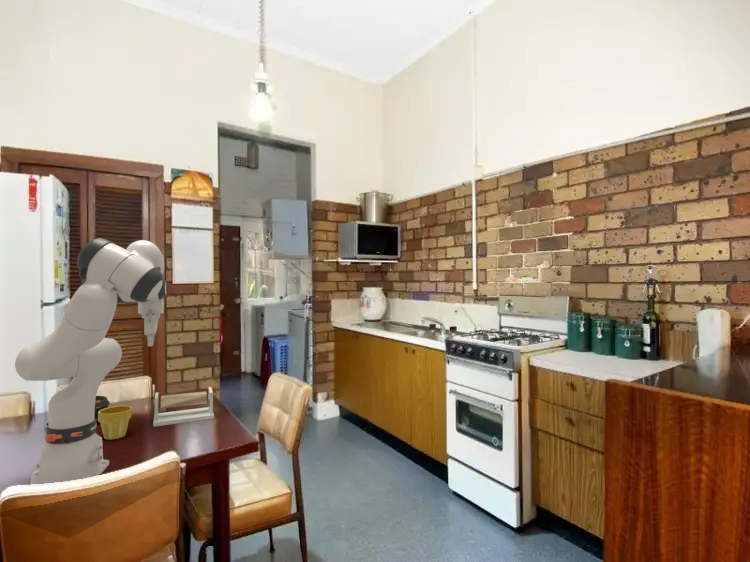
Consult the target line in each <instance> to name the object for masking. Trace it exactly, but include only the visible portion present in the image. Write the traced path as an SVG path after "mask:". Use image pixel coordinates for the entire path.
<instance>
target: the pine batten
mask: <svg viewBox="0 0 750 562" xmlns="http://www.w3.org/2000/svg"><path fill="white" fill-rule="evenodd" d="M207 392H208V391H205V390H204V391H196V392H186V393H176V394H166V395H161V396H160V406H161V408H166V409H167V408H176V407H184V406H185V407H186V406H194V405H202V404H205V403H207V401H208V398H207V396H208V395H207Z"/></svg>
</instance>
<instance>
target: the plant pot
mask: <svg viewBox="0 0 750 562" xmlns="http://www.w3.org/2000/svg"><path fill="white" fill-rule="evenodd" d="M132 413H133V408H132V406H129V405H114V406H108V408H105V409H102V410H100V411H99V412H98V421H97V422H98V423H100V428H101V431H102V435H103V439H105V440H108V441H109V440H110V441H111V440H116V439H120V438H123V437H125V436H126V435H127V434H126V433H127V430H128V425H129V421H130V419H131V418H132Z"/></svg>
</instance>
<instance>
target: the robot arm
mask: <svg viewBox="0 0 750 562" xmlns="http://www.w3.org/2000/svg"><path fill="white" fill-rule="evenodd" d="M77 255H78V256H77V257H76V258H77V269H78V270H79V272H78V275H79V278H80V279H82V280H85V282H84V283H83V284H81V285H80V286H79V287H78V288H77V289H76V291H74V294H73V295H72V297H70V300H69V302H68V304H67V306H66V308H65V312H64V314H63V317H62V319H61V321H60V323H59V325H58V326H57V328H56V329H55V330H54V331H52V332H50V334H49V335H47V336H46V337H44V338H42V339H41V340H39V341H37V342H34V343H31V344H29V345H27V346H25V347H23V348H22V349H21V350H20V351H19V352H18V354H17V356H16V357H15V362H14V369H15V371H16V374H18V376H19V377H20V378H21V379H23V380H24V381H28V382H33V381H34V382H37V381H38V382H41V381H43V382H46V381H53V380H60V379H68V378H72V379H71V381H70V383H69V384H68V385H67V386H65V387H64V388H62V389H61V390H59V391H58V392H56V393H54V395H53V396H52V397H51V398H50V400H49V402H48V422H47V423H48V426H47V425H46V426H47V427H46V431H45V442H44V444H42V445H41V456H40V462H38V463H37V464H36V468H37V470H35V471H33V472H32V473H31V477H30V482H29V485H30V484H44V483H54V482H63V481H70V480H76V479H83V478H87V477H92V476H95V475H100V474H101V475H102V474H103V472H104V471H105V470H106V469H107V468H108V467H109V465H110V460H109V459H104V453H103V438H102V437H101V436H100V435H99V434H98V433H97V426H98V425H97V422H96V419H95V400H96V396H97V394H98V393H97V392H98V390H99V388H100V386H101V383H102V382H103V380H104V379H105V377H106V376H107V375H108V374H109V373H110V372H111V371H113V370H114V369H115V368H116V367H117V366H118V365H119V364H120V362H121V359H122V355H123V350H122V347H121V344H120V343H119V342H118V341H117V340H116V339H114V338H110V337H106V335H107V333H108V331H109V328H110V326H111V324H112V322H113V319H114V316H115V313H116V309H117V304H118V303H120V304H121V303H133V302H134V303H135V302H136V303H137V314H138V315H141V319H144V324H143V325H144V326H143V327H144V328H143V329H144V330H143V331H144V332H143V333H144V334H143V335H145V336H146V339H147V346H148V347H153V346H154V343H155V335H156V332H157V330H158V325H159V319H160V318H161V314H164V313H165V311H164V310H165V309H164V308H165V307H164V305H165V302H164V298H165V297H167V296H168V293H167V287H168V286H167V284H168V282H167V280H166V279H164V272H165V260H164V255H163V254H162V252H161V249H160V248H159V247H158V246H157V245H156V244H155V243H153V242H152V241H149V240H145V239H142V240H141V239H140V240H136V241H134V242H131V243H130V244H129V245H128V246H127V247H126V249H125V248H123V247H122V246H119V245H117V244H115V243H114V242H113V241H111V240H108V239H106V238H102V237H98V238H94V239H92V240H90V241H89V242H87V243H86V244H85V245H84V246H83V247H82V248H81V250H80V251H79V253H78V254H77Z"/></svg>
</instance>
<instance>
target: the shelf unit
mask: <svg viewBox="0 0 750 562" xmlns="http://www.w3.org/2000/svg"><path fill="white" fill-rule="evenodd" d="M207 392H208V395H207V396H208V398H207V403H205V404H201V407H198V408H191V409H190V408H189V409H183V410H176V411H175V410H174V411H168V412H166V411H167V408H161V405H159V391H158V392H157V391H156V392H155V395H154V414H153V415H154V416H153V421H152V426H153V427H154V428H155V427H161V426H171V425H175V424H177V425H178V424H182V423H190V422H199V421H206V420H213V419H214V420H215V414H214V392H213V389H212V386H208V390H207Z"/></svg>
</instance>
